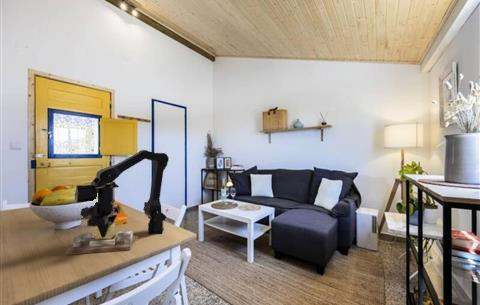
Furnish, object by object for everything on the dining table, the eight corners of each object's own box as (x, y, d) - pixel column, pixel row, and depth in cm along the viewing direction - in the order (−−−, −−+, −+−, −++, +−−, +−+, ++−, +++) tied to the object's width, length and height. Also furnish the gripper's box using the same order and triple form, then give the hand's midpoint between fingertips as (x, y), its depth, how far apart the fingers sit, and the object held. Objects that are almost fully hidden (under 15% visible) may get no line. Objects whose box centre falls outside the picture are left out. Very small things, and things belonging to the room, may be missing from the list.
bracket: (105, 227, 114) (106, 204, 114) (103, 224, 120) (103, 202, 120) (128, 223, 122) (128, 201, 121) (124, 219, 127) (124, 199, 127)
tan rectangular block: (95, 240, 91) (95, 225, 91) (99, 236, 95) (99, 222, 95) (111, 239, 92) (111, 224, 92) (114, 235, 96) (114, 221, 96)
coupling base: (137, 238, 102) (137, 226, 101) (130, 250, 90) (130, 236, 90) (82, 241, 97) (82, 229, 97) (66, 254, 85) (66, 240, 85)
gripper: (94, 194, 101) (94, 228, 101) (71, 205, 82) (71, 246, 83) (120, 194, 103) (120, 227, 103) (104, 204, 85) (104, 244, 85)
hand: (105, 235), depth 93 cm, fingers closed on tan rectangular block, 4 cm apart
